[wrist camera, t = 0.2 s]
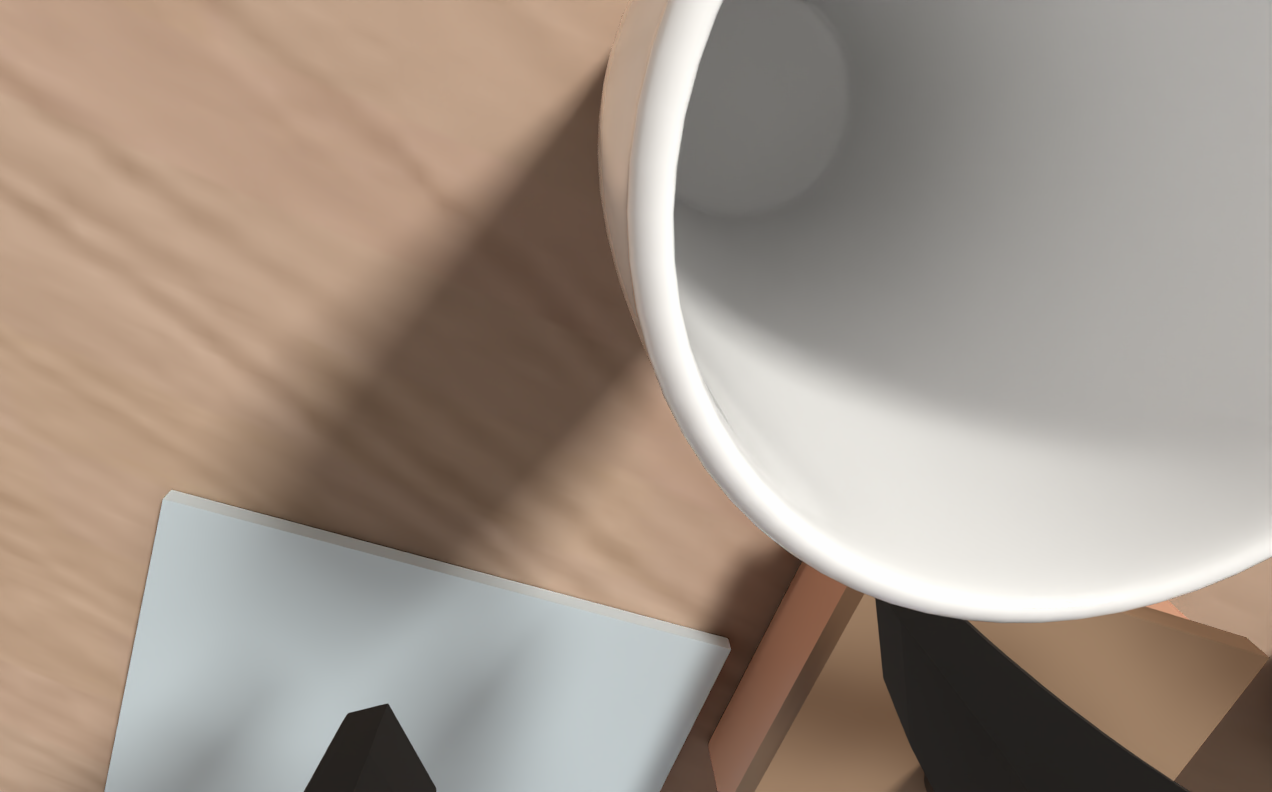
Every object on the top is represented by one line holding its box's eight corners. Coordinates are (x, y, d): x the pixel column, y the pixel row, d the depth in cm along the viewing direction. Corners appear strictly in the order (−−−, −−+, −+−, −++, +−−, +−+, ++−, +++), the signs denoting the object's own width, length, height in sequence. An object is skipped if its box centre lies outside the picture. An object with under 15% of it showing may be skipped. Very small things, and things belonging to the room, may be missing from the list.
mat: (556, 982, 30) (556, 997, 30) (87, 903, 27) (79, 918, 27) (728, 638, 25) (731, 649, 25) (171, 489, 22) (162, 499, 21)
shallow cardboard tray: (975, 807, 28) (1027, 904, 25) (707, 744, 26) (727, 839, 23) (1136, 571, 25) (1219, 647, 22) (844, 478, 23) (889, 547, 20)
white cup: (569, 233, 20) (574, 626, 6) (593, -85, 18) (689, -613, 4) (841, 257, 21) (1385, 657, 7) (900, -46, 18) (1925, -361, 4)
